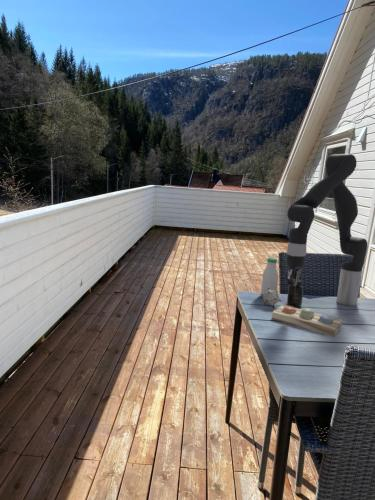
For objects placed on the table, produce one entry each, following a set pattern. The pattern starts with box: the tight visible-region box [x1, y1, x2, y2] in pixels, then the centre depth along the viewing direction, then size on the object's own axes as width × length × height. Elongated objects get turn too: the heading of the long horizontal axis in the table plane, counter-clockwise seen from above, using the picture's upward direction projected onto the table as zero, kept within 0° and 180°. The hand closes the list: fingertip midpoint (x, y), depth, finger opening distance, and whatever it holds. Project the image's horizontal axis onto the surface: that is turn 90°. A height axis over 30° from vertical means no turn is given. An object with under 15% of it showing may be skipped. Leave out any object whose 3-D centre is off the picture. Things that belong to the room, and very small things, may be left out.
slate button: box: [318, 314, 333, 324], centre depth 136 cm, size 5×5×3 cm
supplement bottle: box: [286, 279, 304, 308], centre depth 161 cm, size 7×7×12 cm
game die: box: [260, 288, 282, 308], centre depth 158 cm, size 9×8×10 cm
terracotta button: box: [282, 305, 296, 314], centre depth 144 cm, size 5×5×3 cm
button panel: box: [271, 304, 343, 337], centre depth 140 cm, size 12×25×3 cm, turn 54°
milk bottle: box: [260, 257, 279, 298], centre depth 170 cm, size 8×8×20 cm
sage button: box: [300, 307, 315, 319], centre depth 140 cm, size 5×5×3 cm
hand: (291, 293), depth 143 cm, fingers closed
